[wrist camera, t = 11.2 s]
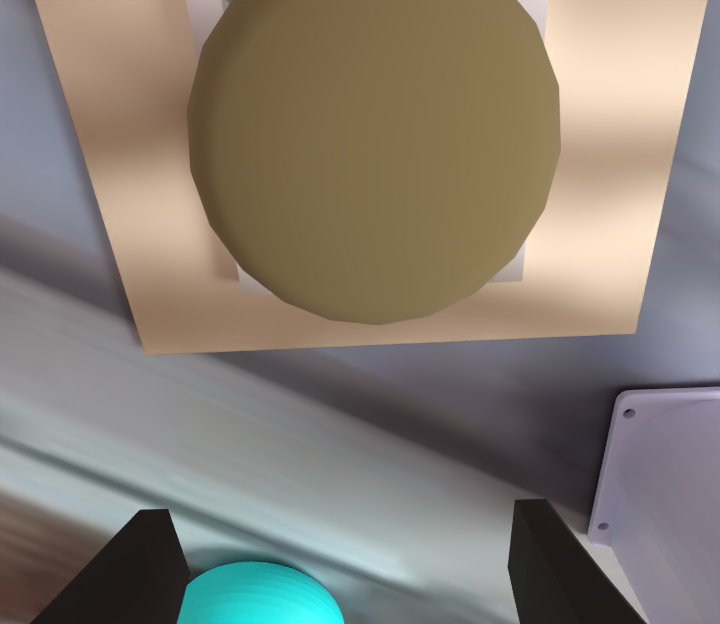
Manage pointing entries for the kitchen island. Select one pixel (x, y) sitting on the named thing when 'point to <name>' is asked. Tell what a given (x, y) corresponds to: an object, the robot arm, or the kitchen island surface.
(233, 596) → the donuts
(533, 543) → the robot arm
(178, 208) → the socket board
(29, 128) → the kitchen island surface
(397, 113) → the cork
